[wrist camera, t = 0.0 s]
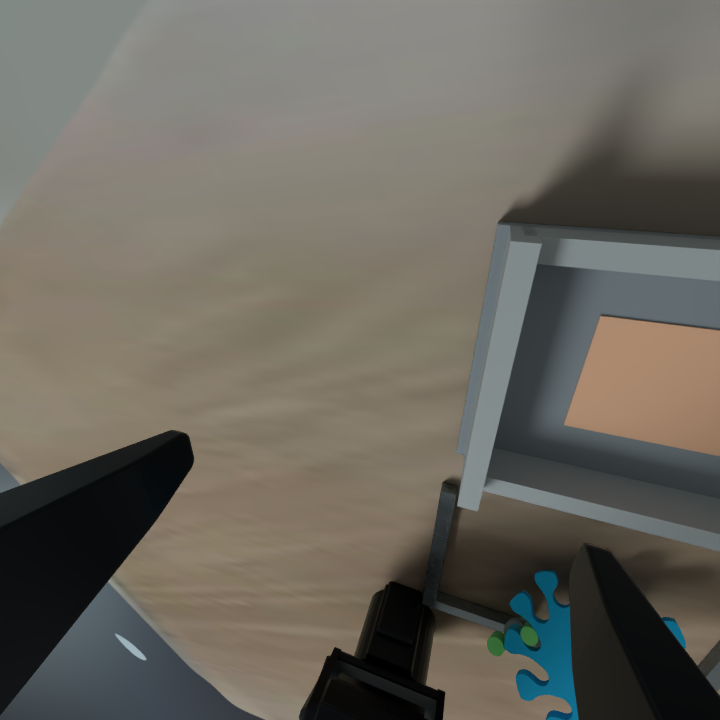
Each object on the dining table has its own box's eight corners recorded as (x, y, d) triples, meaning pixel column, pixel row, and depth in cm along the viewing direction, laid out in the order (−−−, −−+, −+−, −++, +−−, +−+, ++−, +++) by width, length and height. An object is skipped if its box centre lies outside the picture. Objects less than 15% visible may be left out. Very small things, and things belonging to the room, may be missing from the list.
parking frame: (700, 689, 26) (705, 703, 25) (423, 594, 31) (421, 604, 31) (804, 575, 20) (814, 589, 19) (442, 482, 25) (440, 490, 25)
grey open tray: (832, 527, 19) (926, 633, 14) (457, 442, 24) (447, 503, 19) (1068, 260, 13) (1350, 309, 8) (498, 221, 18) (495, 240, 13)
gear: (691, 583, 20) (734, 831, 17) (675, 567, 25) (707, 759, 22) (482, 552, 26) (487, 734, 23) (501, 543, 31) (507, 693, 28)
